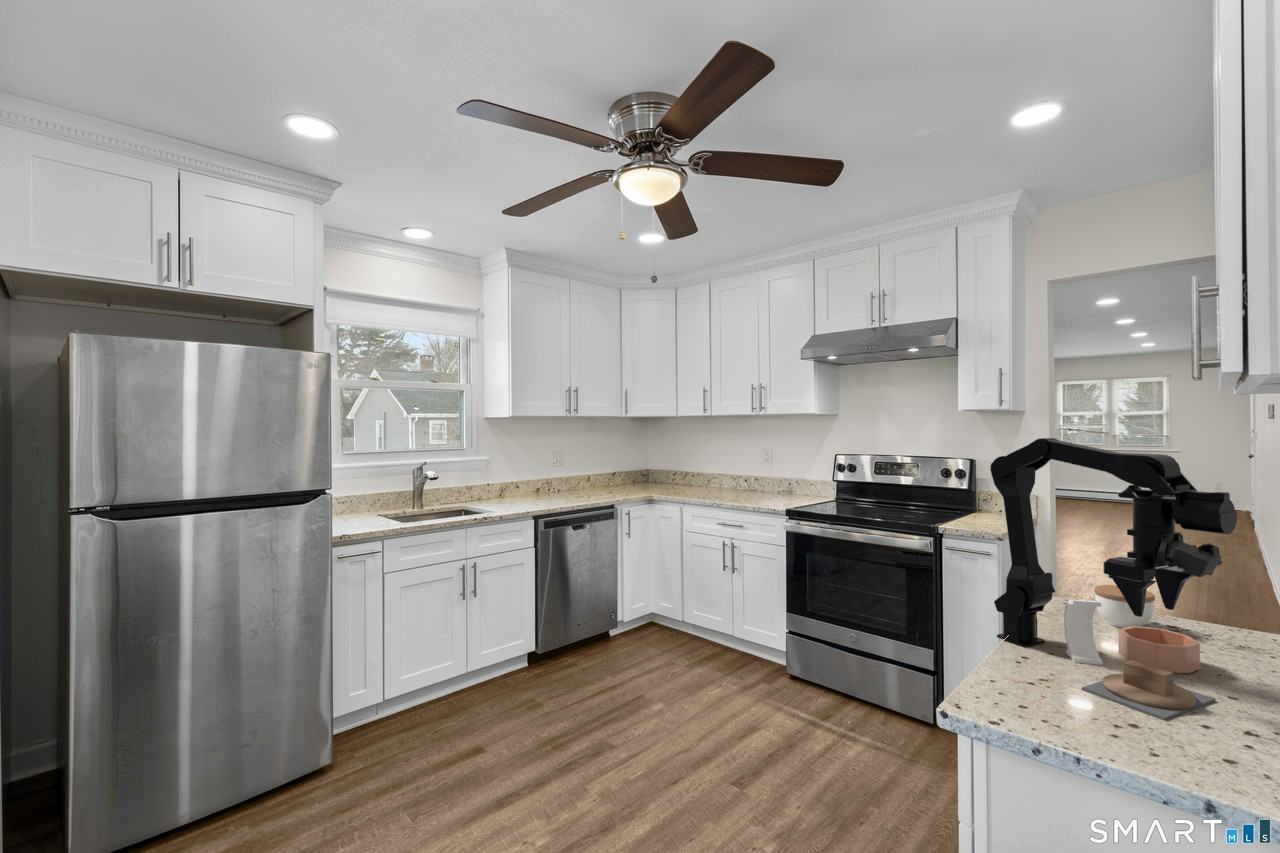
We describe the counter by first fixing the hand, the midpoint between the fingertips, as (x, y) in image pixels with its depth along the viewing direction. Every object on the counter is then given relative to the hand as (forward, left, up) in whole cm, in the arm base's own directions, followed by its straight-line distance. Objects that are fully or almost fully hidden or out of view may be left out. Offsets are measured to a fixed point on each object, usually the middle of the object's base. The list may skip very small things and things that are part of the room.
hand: (1154, 612), depth 106 cm
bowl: (+11, +5, -13) cm, 18 cm away
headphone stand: (+1, +12, -13) cm, 18 cm away
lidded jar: (+29, +20, -13) cm, 38 cm away
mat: (-7, -2, -13) cm, 14 cm away
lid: (-7, -2, -12) cm, 14 cm away
